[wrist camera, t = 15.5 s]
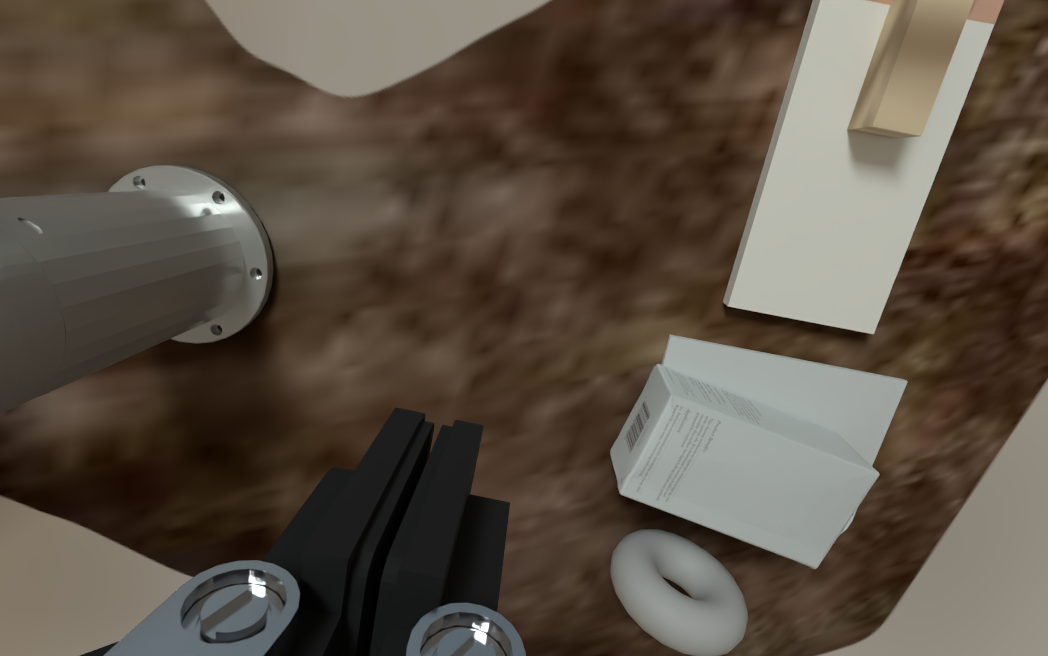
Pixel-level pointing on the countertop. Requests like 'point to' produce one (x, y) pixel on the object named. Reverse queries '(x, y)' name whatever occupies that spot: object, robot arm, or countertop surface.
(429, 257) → the countertop surface
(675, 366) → the mat
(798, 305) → the board
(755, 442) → the skincare box
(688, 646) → the donut
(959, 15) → the turner
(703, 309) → the countertop surface
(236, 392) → the countertop surface
